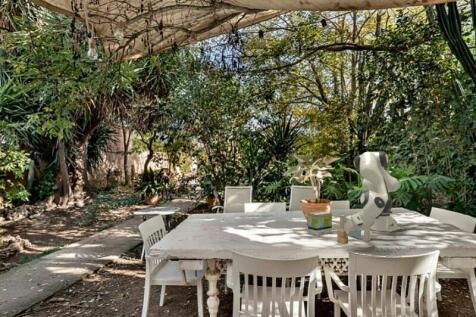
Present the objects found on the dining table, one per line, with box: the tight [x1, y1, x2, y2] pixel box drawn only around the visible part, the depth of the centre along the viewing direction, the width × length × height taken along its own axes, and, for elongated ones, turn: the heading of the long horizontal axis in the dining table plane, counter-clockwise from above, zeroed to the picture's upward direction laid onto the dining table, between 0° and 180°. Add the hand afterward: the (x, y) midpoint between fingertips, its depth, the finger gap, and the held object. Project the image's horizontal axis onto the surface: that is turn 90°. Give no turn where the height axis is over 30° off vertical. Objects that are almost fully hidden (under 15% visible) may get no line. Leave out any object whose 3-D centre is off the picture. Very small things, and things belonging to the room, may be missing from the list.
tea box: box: [307, 210, 333, 236], centre depth 263 cm, size 15×10×15 cm, turn 126°
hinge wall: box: [339, 214, 347, 230], centre depth 260 cm, size 3×3×13 cm
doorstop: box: [336, 229, 349, 245], centre depth 234 cm, size 4×5×8 cm
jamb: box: [363, 228, 371, 242], centre depth 240 cm, size 3×3×13 cm
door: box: [345, 217, 362, 240], centre depth 250 cm, size 17×3×11 cm, turn 17°
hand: (352, 232), depth 226 cm, fingers open, 8 cm apart
